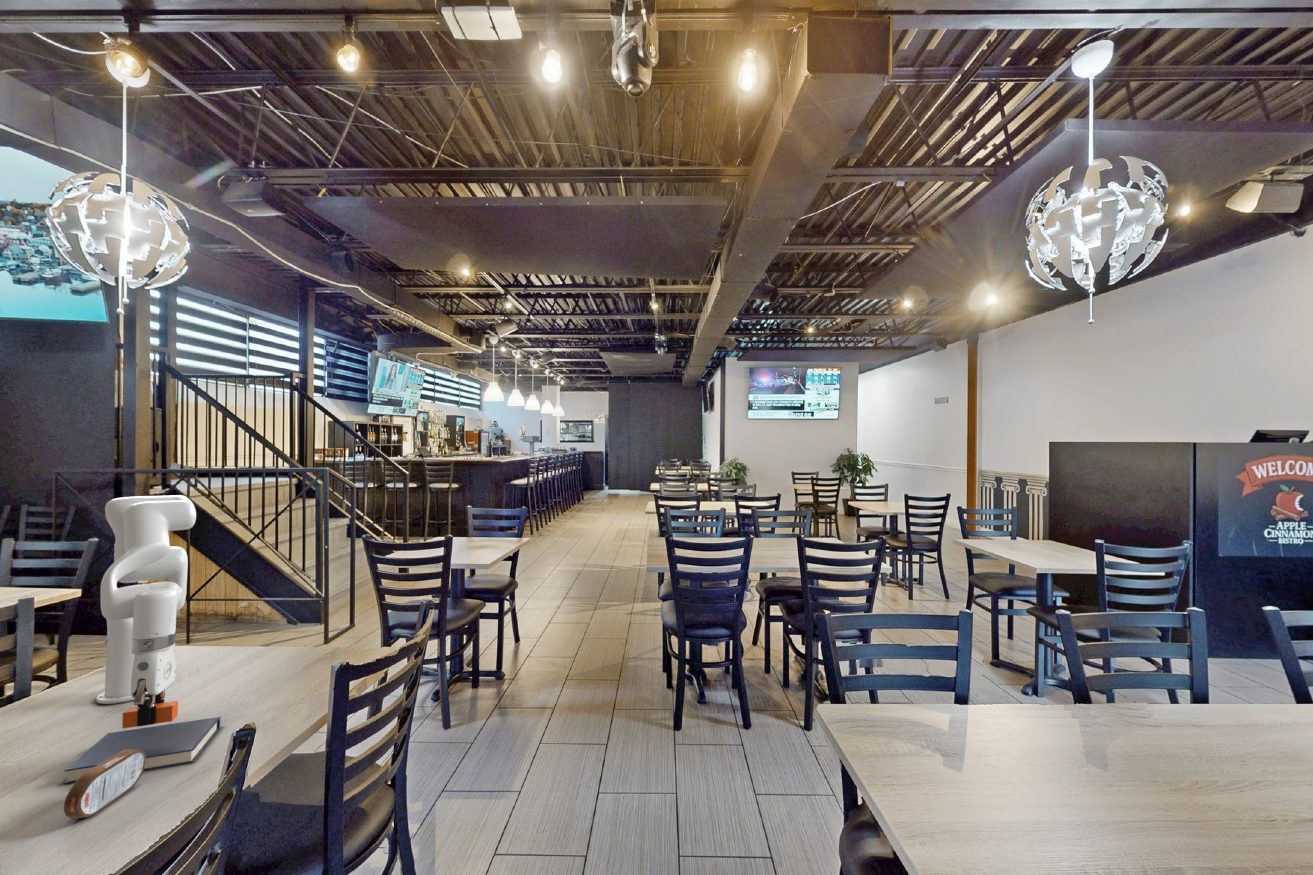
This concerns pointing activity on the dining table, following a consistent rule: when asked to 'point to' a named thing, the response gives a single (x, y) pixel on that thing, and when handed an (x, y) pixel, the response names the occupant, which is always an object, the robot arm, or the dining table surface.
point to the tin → (104, 783)
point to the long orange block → (163, 714)
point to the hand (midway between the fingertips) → (150, 720)
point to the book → (150, 745)
